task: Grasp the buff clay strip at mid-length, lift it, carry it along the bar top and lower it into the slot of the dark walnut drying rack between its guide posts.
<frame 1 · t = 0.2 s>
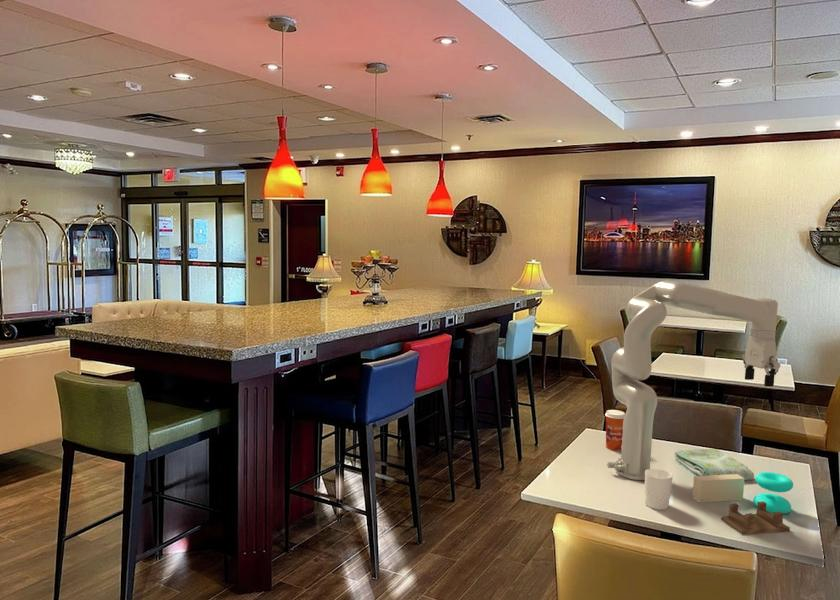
hand: (758, 382, 220), 31 cm above the table, fingers open, 9 cm apart
towel: (711, 471, 222), on the table
donuts: (771, 509, 191), on the table
white cup: (656, 505, 192), on the table
paper cup: (613, 448, 242), on the table
clay strip: (717, 498, 198), on the table
rack: (754, 525, 180), on the table
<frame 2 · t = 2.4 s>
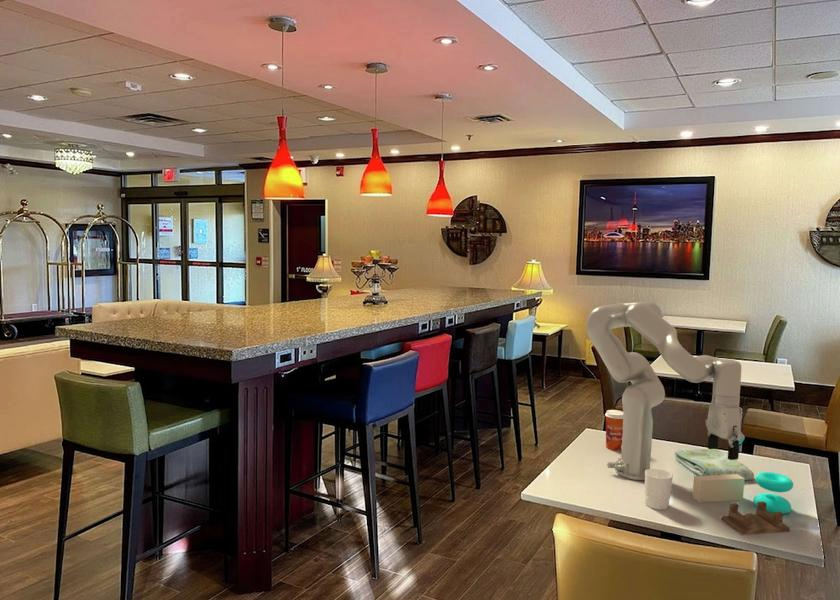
hand: (722, 453, 196), 15 cm above the table, fingers open, 9 cm apart
nothing on the table moved.
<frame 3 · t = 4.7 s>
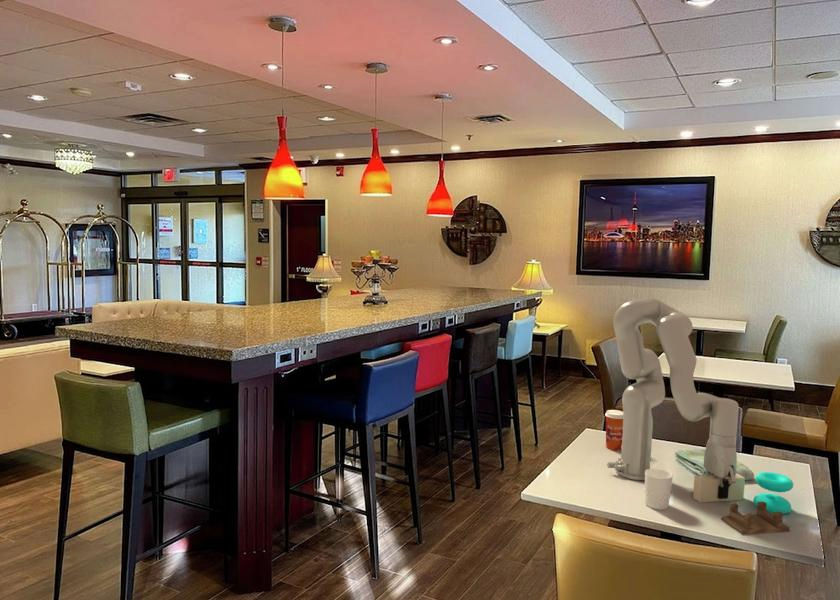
hand: (718, 494, 198), 1 cm above the table, fingers closed on clay strip, 3 cm apart
clay strip: (718, 498, 198), on the table, touching gripper
everything else where it was.
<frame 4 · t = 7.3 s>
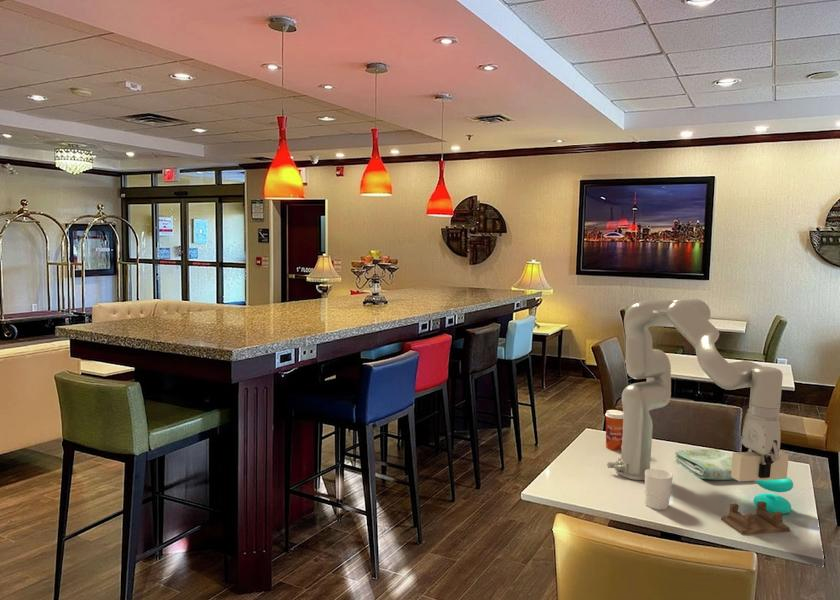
hand: (758, 473, 178), 15 cm above the table, fingers closed on clay strip, 3 cm apart
clay strip: (758, 477, 178), point 14 cm above the table, touching gripper
everything else where it was.
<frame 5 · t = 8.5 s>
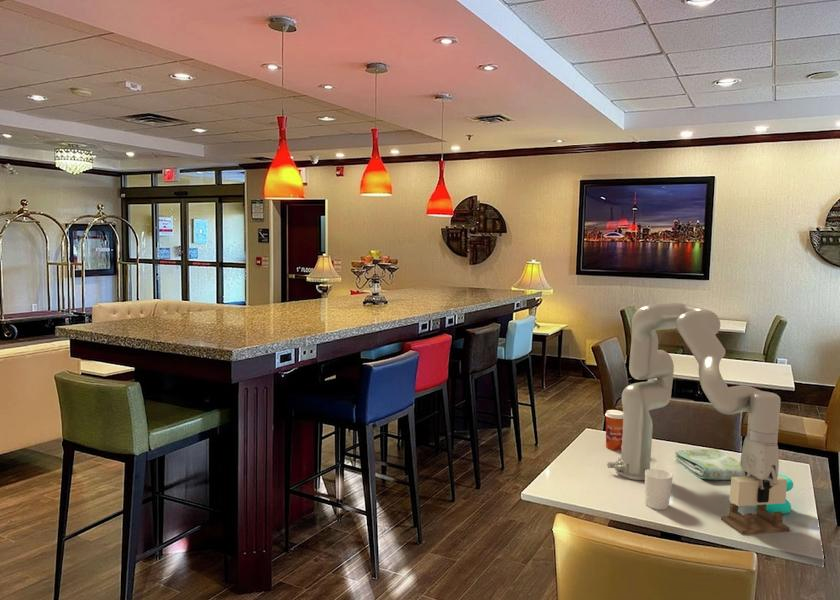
hand: (757, 498, 179), 8 cm above the table, fingers closed on clay strip, 3 cm apart
clay strip: (757, 501, 179), point 7 cm above the table, touching gripper
everything else where it was.
when the fingers open (5 cm above the table, at t = 9.7 s): clay strip drops 1 cm, resting on rack.
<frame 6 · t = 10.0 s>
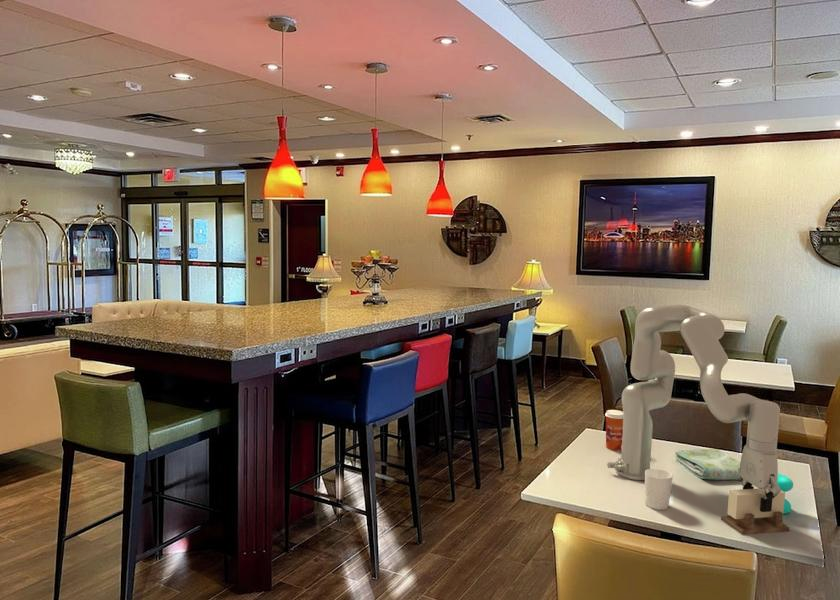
hand: (756, 505, 179), 6 cm above the table, fingers open, 6 cm apart
clay strip: (755, 514, 180), point 3 cm above the table, touching rack
everything else where it was.
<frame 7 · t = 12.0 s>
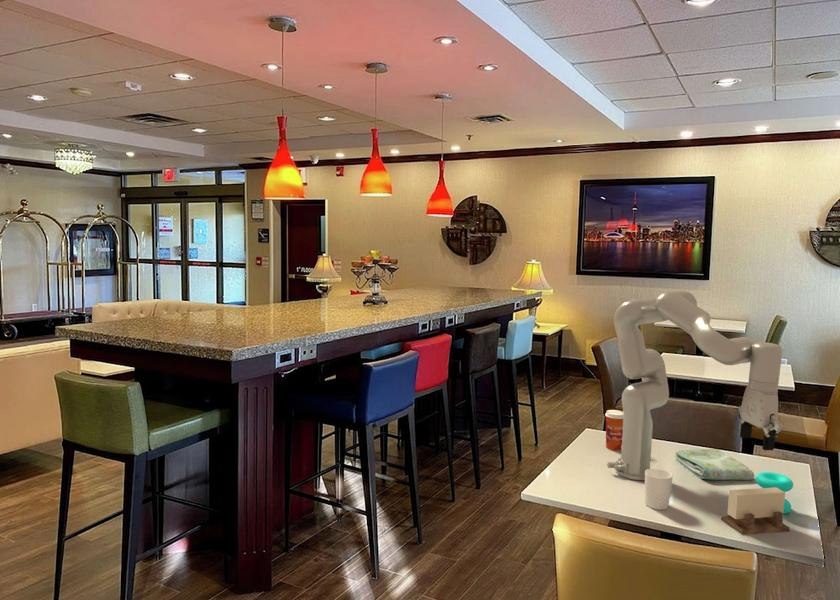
hand: (756, 443, 182), 22 cm above the table, fingers open, 9 cm apart
nothing on the table moved.
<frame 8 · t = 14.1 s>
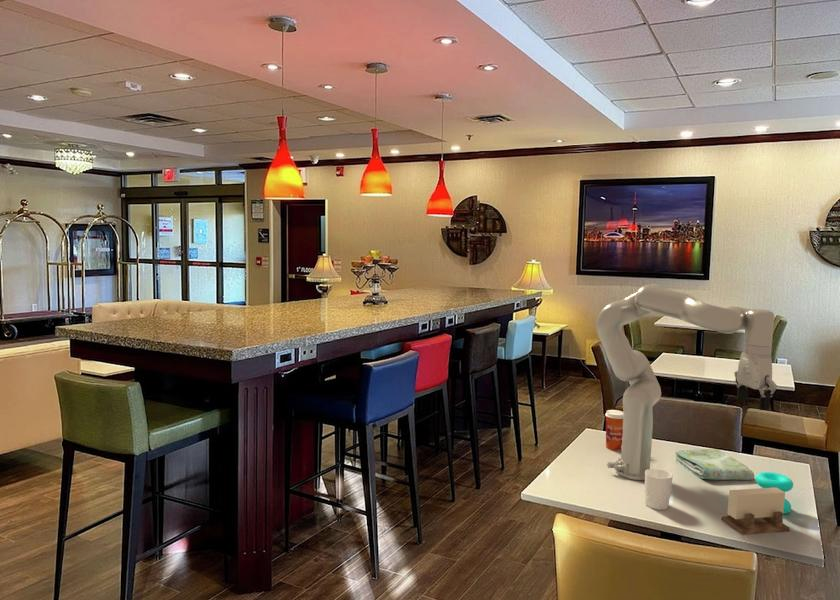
hand: (752, 405, 194), 30 cm above the table, fingers open, 9 cm apart
nothing on the table moved.
at the end: clay strip 0.1 cm off-centre on the rack, point 3.0 cm above the rack's base; clay strip tilted 0°; the gripper is holding nothing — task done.
